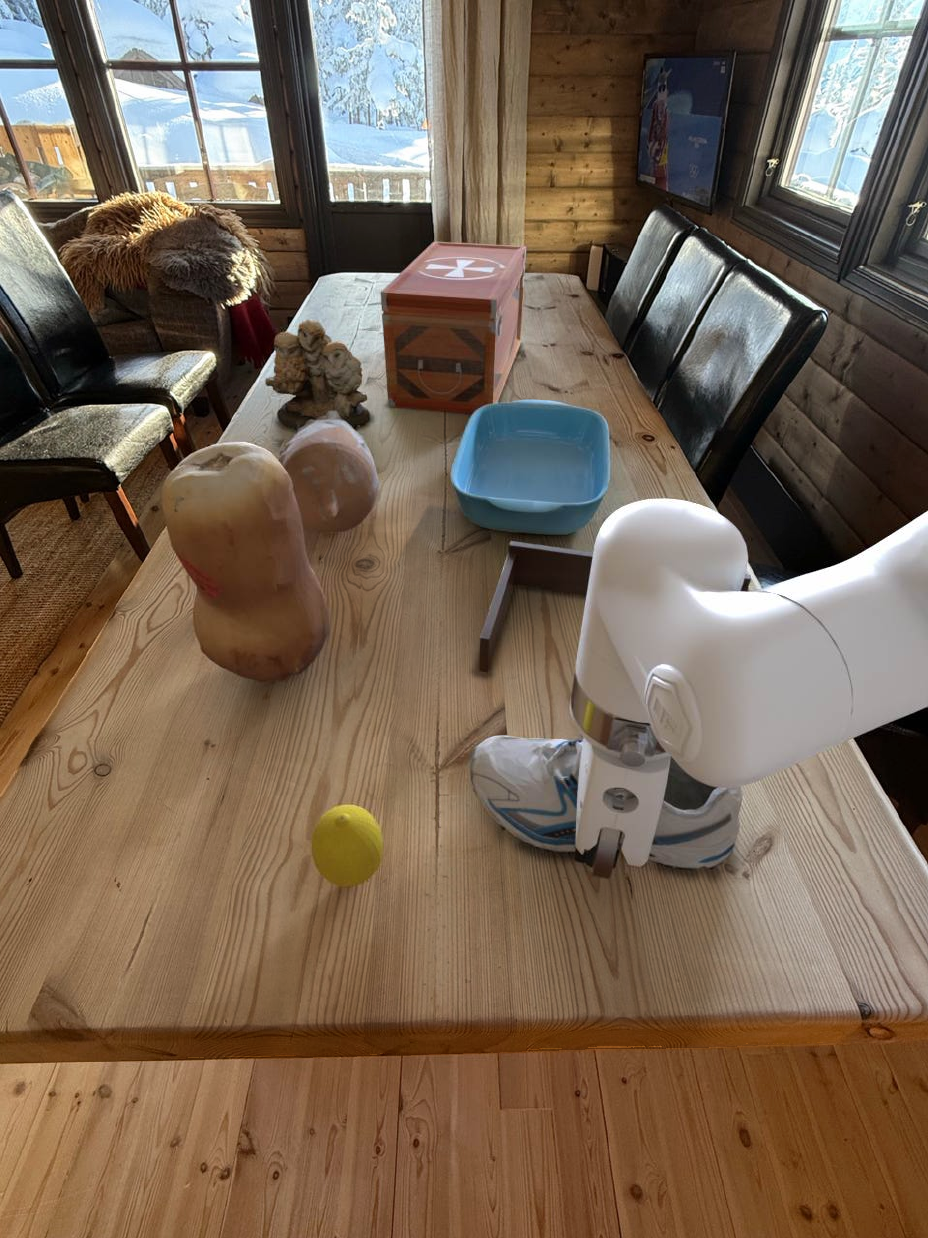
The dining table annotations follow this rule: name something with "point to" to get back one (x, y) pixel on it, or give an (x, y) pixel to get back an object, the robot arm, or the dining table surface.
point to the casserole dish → (532, 467)
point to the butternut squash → (246, 561)
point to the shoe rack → (537, 583)
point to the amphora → (331, 474)
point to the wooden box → (453, 326)
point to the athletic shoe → (547, 802)
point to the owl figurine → (316, 378)
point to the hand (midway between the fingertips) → (594, 856)
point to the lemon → (347, 845)
